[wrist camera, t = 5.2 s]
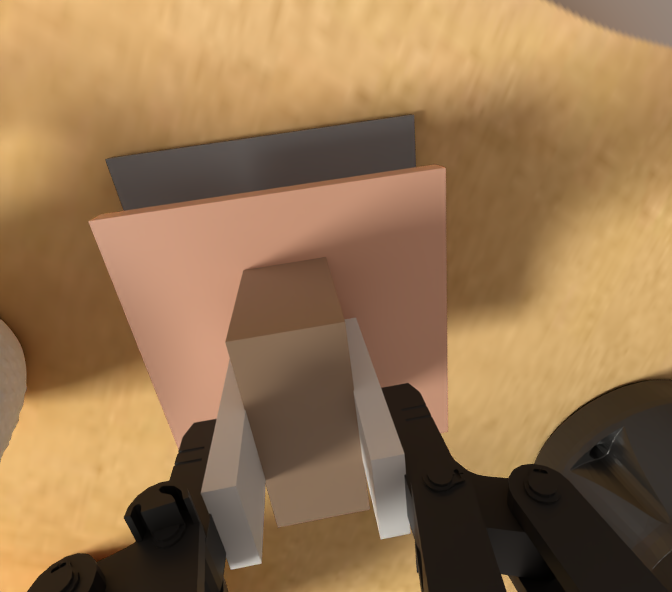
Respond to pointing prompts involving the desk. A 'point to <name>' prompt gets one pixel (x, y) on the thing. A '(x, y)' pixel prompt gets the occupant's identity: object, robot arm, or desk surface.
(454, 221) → the desk surface
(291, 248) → the lid
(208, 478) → the robot arm
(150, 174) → the mat
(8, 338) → the mug
